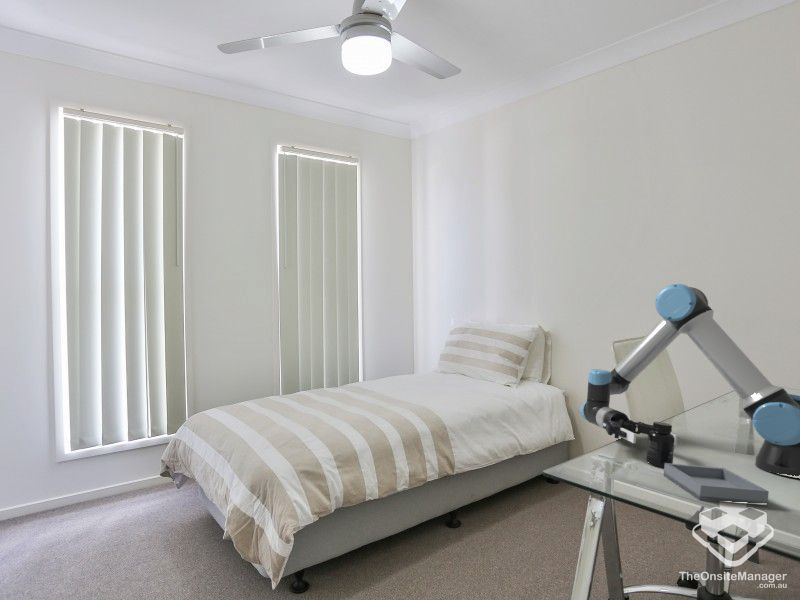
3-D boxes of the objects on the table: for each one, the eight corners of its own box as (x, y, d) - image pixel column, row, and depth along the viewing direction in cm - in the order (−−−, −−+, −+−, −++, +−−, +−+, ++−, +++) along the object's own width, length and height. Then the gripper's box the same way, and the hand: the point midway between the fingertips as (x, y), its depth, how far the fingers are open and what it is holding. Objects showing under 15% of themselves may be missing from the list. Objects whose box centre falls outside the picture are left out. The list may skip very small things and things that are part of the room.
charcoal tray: (723, 480, 131) (724, 468, 131) (767, 506, 115) (768, 491, 115) (663, 475, 131) (664, 462, 131) (699, 500, 115) (700, 485, 115)
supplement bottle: (676, 470, 137) (679, 428, 137) (650, 466, 138) (653, 424, 138) (667, 462, 143) (671, 422, 143) (643, 459, 145) (646, 419, 145)
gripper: (645, 433, 165) (692, 453, 144) (577, 430, 161) (615, 450, 140) (647, 411, 165) (694, 428, 144) (579, 408, 161) (618, 424, 140)
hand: (655, 439), depth 142 cm, fingers open, 13 cm apart
